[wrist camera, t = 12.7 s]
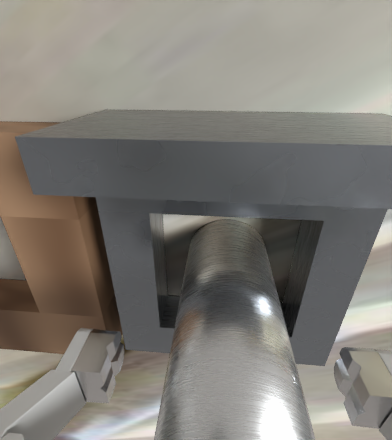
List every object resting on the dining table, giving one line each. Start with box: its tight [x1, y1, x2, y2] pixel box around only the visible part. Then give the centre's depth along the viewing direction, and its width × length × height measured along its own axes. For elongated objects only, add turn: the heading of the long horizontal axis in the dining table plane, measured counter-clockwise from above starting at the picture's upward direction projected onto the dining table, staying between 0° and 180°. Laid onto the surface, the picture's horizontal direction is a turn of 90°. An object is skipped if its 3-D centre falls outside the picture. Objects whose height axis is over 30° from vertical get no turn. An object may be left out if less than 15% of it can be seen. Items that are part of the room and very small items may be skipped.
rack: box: [15, 110, 392, 366], centre depth 12 cm, size 12×14×6 cm
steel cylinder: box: [154, 220, 315, 440], centre depth 10 cm, size 4×4×11 cm
